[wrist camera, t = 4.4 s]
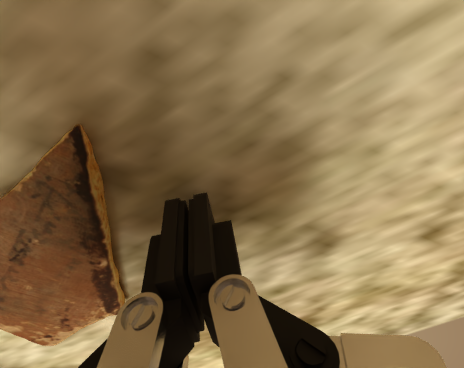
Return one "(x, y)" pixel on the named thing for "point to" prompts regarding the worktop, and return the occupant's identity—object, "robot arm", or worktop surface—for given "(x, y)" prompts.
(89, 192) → the shard
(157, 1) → the worktop surface
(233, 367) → the robot arm
